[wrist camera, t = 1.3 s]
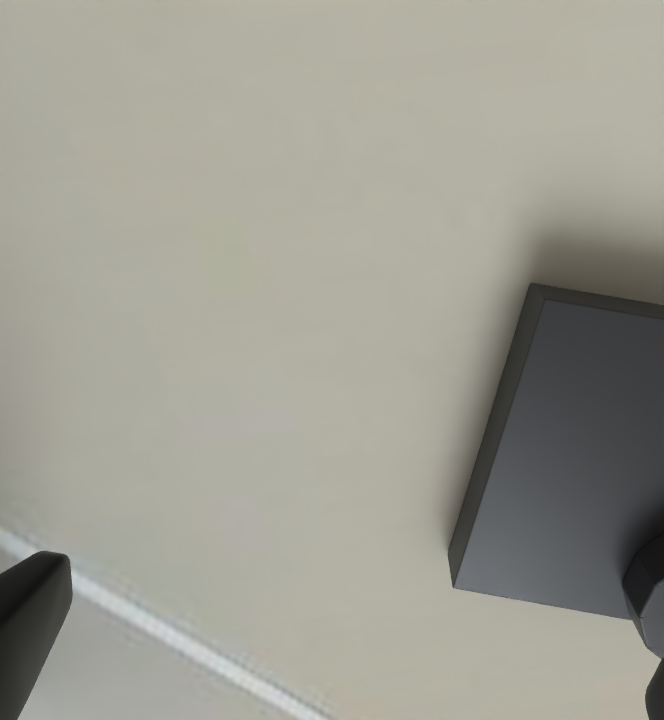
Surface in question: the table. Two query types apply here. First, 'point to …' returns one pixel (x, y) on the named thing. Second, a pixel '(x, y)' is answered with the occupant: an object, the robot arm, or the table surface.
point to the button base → (573, 464)
